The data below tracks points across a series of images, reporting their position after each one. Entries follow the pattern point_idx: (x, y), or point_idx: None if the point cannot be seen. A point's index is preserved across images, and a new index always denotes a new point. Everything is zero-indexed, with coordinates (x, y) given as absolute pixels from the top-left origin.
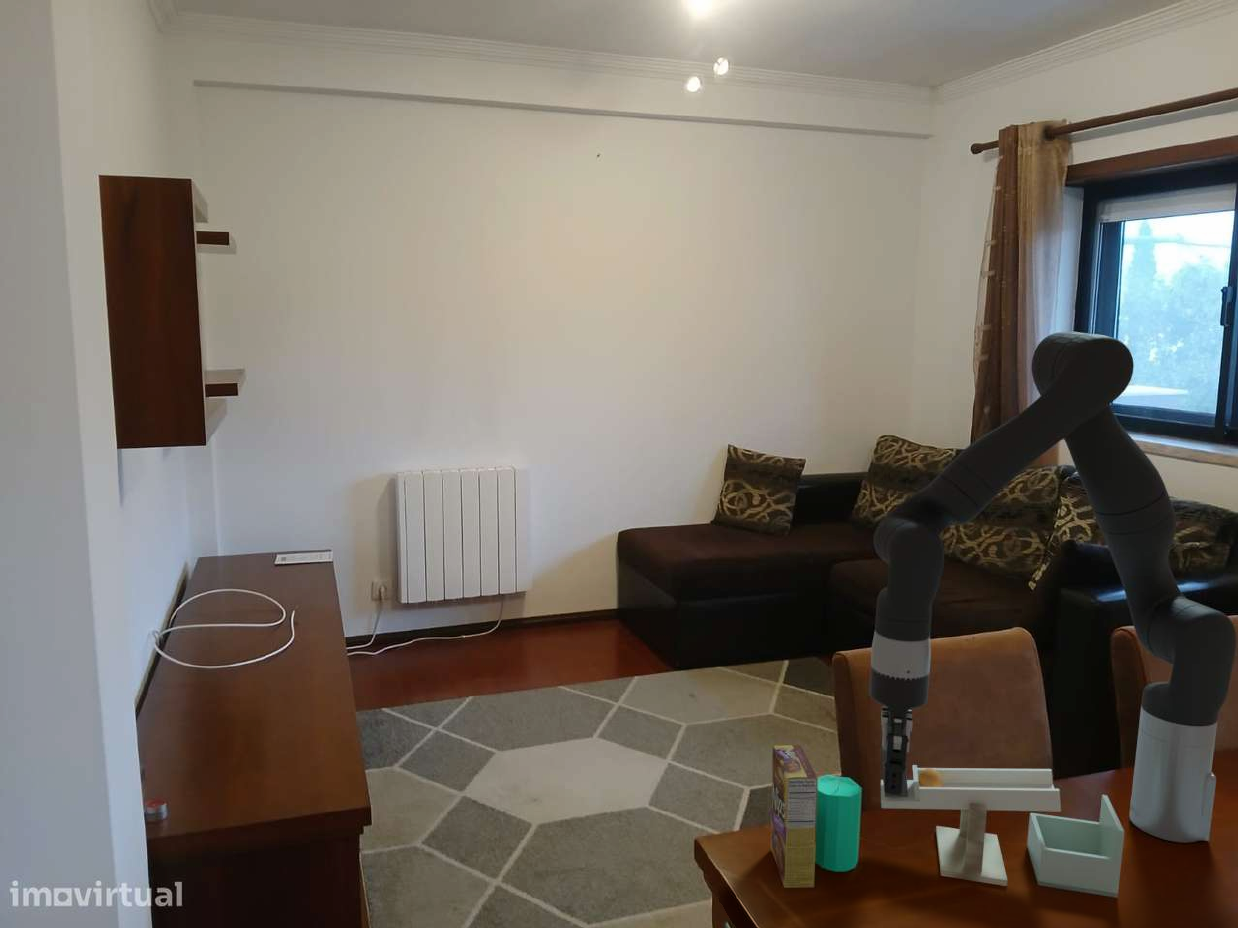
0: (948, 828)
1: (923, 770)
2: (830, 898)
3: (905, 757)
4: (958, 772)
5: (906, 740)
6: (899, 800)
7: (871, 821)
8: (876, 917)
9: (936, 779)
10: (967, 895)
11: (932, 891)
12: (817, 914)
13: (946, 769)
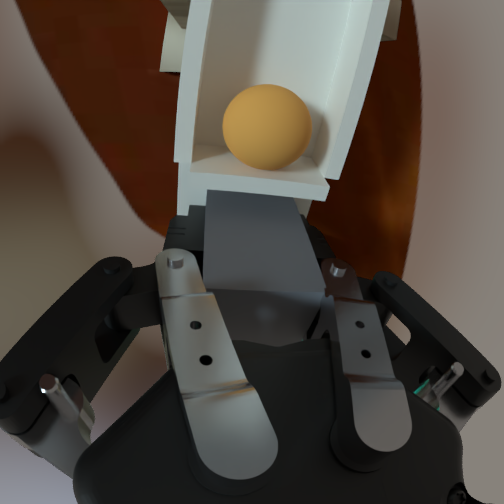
0: (166, 48)
1: (259, 159)
2: (375, 260)
3: (446, 321)
4: (210, 9)
5: (498, 380)
6: (303, 209)
7: (154, 192)
8: (413, 212)
9: (306, 114)
10: (374, 68)
11: (367, 120)
12: (398, 273)
13: (195, 53)
